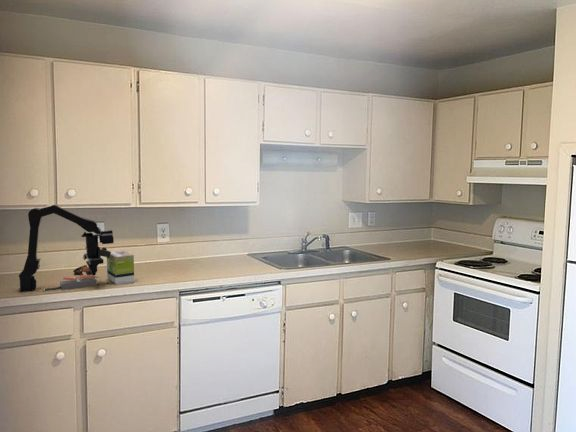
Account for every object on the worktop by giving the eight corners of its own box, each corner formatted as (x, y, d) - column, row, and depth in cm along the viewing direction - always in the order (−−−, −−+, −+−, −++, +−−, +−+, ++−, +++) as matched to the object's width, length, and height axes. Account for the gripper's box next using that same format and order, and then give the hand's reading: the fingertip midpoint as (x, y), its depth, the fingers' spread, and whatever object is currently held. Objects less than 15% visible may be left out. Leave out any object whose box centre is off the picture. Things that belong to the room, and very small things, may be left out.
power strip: (45, 291, 225) (45, 285, 224) (44, 289, 230) (44, 282, 229) (96, 285, 237) (96, 279, 237) (94, 283, 242) (94, 277, 242)
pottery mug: (80, 282, 246) (73, 268, 246) (76, 287, 253) (69, 273, 253) (102, 273, 254) (95, 260, 254) (97, 278, 261) (91, 264, 261)
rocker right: (80, 278, 234) (80, 276, 234) (79, 277, 237) (79, 275, 237) (93, 277, 238) (93, 275, 238) (92, 276, 240) (92, 274, 240)
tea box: (106, 279, 251) (105, 252, 250) (125, 276, 258) (124, 250, 256) (115, 284, 240) (114, 256, 238) (135, 282, 246) (134, 254, 244)
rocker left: (63, 279, 230) (63, 277, 230) (62, 278, 232) (62, 276, 232) (76, 280, 233) (76, 278, 233) (75, 279, 236) (75, 277, 236)
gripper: (113, 245, 234) (115, 276, 236) (104, 240, 249) (106, 269, 251) (89, 248, 228) (91, 279, 230) (82, 243, 243) (84, 272, 245)
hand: (94, 275), depth 239 cm, fingers closed, pressing on rocker right
